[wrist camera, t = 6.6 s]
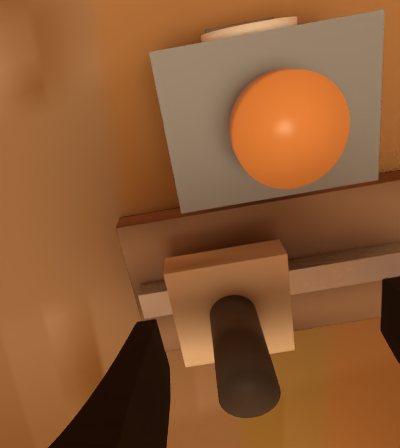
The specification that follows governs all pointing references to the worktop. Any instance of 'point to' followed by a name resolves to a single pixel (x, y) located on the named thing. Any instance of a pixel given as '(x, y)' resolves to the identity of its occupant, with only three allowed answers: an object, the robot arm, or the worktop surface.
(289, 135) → the button
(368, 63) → the gauge box
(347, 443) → the worktop surface
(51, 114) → the worktop surface
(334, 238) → the board
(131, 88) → the worktop surface
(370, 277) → the guide rail
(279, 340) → the carriage
